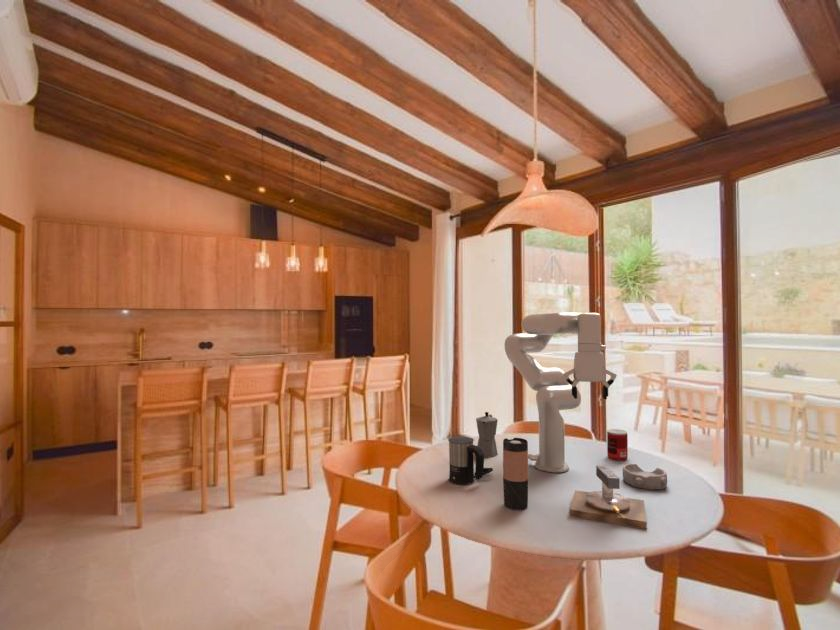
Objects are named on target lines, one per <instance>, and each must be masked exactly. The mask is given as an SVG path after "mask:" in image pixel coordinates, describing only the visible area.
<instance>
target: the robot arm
mask: <svg viewBox="0 0 840 630" xmlns="http://www.w3.org/2000/svg"><path fill="white" fill-rule="evenodd" d="M520 326H521V329H522V331H524V333H522V332H520V333H513V334H510V335H509V336H507V337H506V338H505V340H504V350H505V355H506V357H507V359H508V360H509V361H510V363H511V365H513V366H514V367H515V369H516V370H517V371H518V372H519V374H520V375H521V376H522V378H523V379H524V381H525V382H526V384H527V385H528V386H529V388H530V389H531V390H533V391H534V392H536V395H535V401H536V407H537V413H538V440H539V441H538V453H537V454H532V453H528V460H529V461H532V462H533V461H534V462H535V464H534V467H535V468H536V469H538V470H540V471H543V472H547V473H554V474H556V473H565V472H567V471H569V469H570V466H569V464H568V463H566V458H565V456H566V455H565V420H564V418H563V416H562V415H561V413H560V411H566V410H575V409H576V408H578V407H579V406H580V405H581V402H582V396H581V392H580V390H579V389H578V387H577V385H578V384H579V383H580V382H583V383H584V382H585V383H601V384H602V389H601V390H602V396H601V397H602V399H604V400H608V397H609V388H610V386H611V385H612V384H613V383H614V381H615V380H616V378H617V376H618V375H617V374H616V373H614V372H612V371H610V370H609V369H607V368H606V361H605V355H604V352H602V351H603V350H606V348H607V346H606V345H603V344H602V317H601V314H600V313H598V312H549V313H548V312H547V313H534V314H533V313H532V314H529V315H527V316H525V317H524V318H523V319H522V321H521V325H520ZM556 334H563V335H565V334H577V351H575V353H574V358H573V360H574V361H573V368H572V369H570V370H568V371H566V372H565V371H563V369H561V368H559V367H556V366H555V367H554V366H550V367H549V366H542V365H540V364H539V363H538V361H537V360H536V359H535V358H534V357H533V356H532V355H530V354H529V353H532V354H533V353H540V352H542V351H543V350H545V348H546V347H547V345H548V344H549V343H550V341H551V339H552V337H553V336H554V335H556ZM571 375H572V376H573V380H571V378H570V376H571ZM607 375H609V376H610V378H609V379H608V380H607V381H606V379H607Z"/></svg>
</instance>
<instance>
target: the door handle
mask: <svg viewBox="0 0 840 630" xmlns="http://www.w3.org/2000/svg"><path fill="white" fill-rule="evenodd" d="M595 468H596V469H595V470H596V472H595V475H596V477H597V478H598V479H599V480H600V481H601V487H602V488H601V489H602V490H594V491H589V492H590V493H588V494H587V495H586V502H587V504H588V505H590V506H591V507H593V508H596V509H599V510H602V511H607V512H616V513H619V512H624V511H627V510H629V509H630V501H629V499H628V498H629V497H626V496H625V495H622V494H621V493H620V494H619V493H616V492H614V489H615V490H620V488H621V487H620V486H621V485H620V483H621V482H620V481H621V480H620V477H619V476H618V475H617V474H615V473H614V471H612V470H611V469H610V468H609V467H608V466H607V465H595Z"/></svg>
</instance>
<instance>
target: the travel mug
mask: <svg viewBox="0 0 840 630" xmlns="http://www.w3.org/2000/svg"><path fill="white" fill-rule="evenodd" d="M502 442H503V443H502V485H503V488H502V489H503V504H504V507H505V508H507V509H509V510H513V511H524V510H526V509H527V508H528V504H529V459H528V454H529V448H528V447H529V443H528V440H527V439H525V438H522V437H521V438H520V437H513V438H511V439H508V437H507V438H504V439H503V441H502Z"/></svg>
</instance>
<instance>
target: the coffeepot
mask: <svg viewBox="0 0 840 630" xmlns="http://www.w3.org/2000/svg"><path fill="white" fill-rule="evenodd" d="M484 415H485V416H479V417H476V419H475V420H476V421H475V422H476V428H477V433H478V439H477V445H476V446H478V447H480V448H481V449H482V451H483V453H484V458H494V457H497V456H498V448H497V442H496V438H495V437H496V434H497V428H498V418H497V417H493V415H492V414H489V412H488V411H485V412H484ZM496 455H497V456H496Z"/></svg>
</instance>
